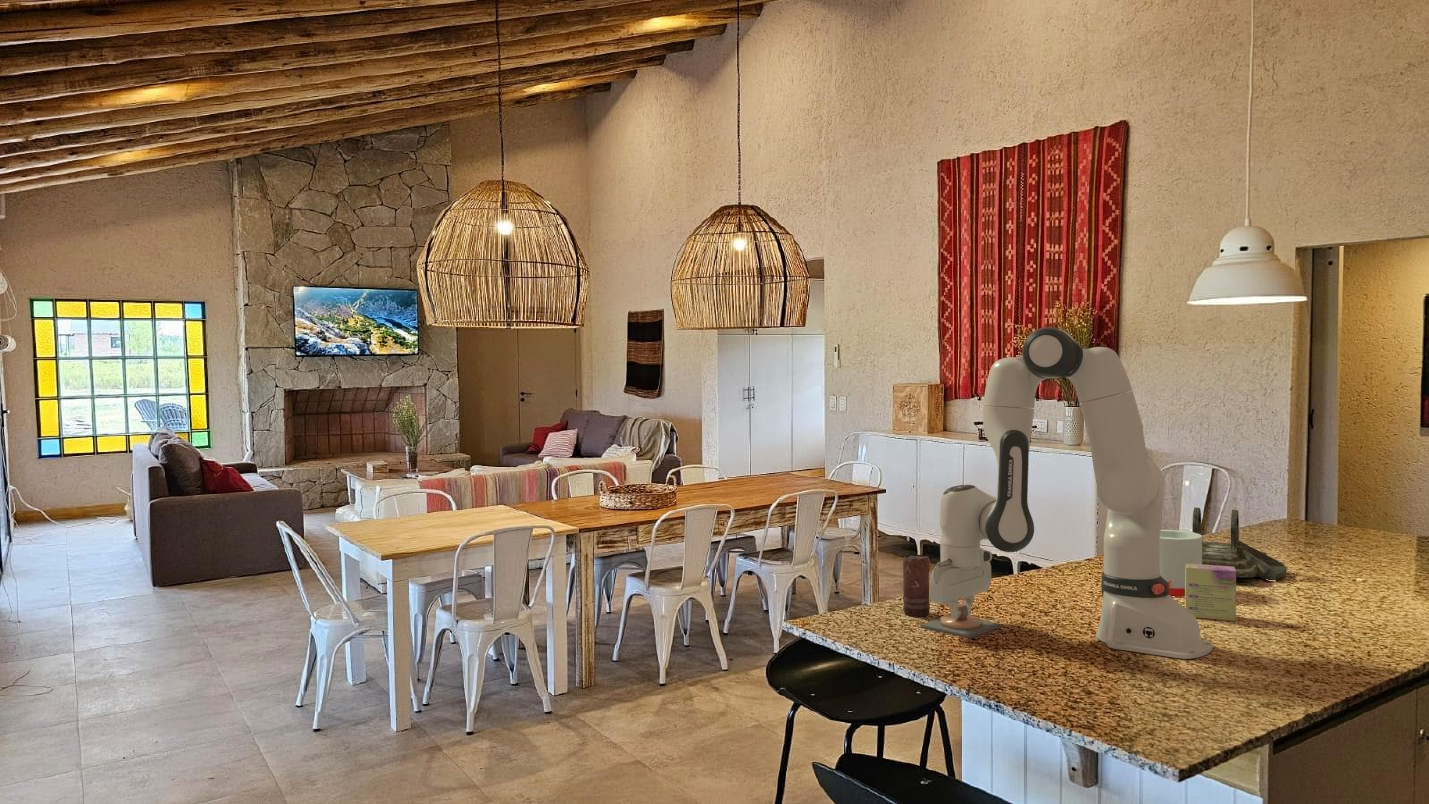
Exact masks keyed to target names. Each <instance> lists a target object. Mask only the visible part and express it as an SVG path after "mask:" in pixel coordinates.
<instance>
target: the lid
mask: <svg viewBox="0 0 1429 804" xmlns="http://www.w3.org/2000/svg"><path fill="white" fill-rule="evenodd" d="M957 606H958V610H960V611H961V617H960V618H959V619H952V618H951V614H946V615H943V616H941V617H940V618H941V625H942V626H944V627H947V628H951V629H958V630H971V629H977V628H980V627H981V620H982V619H981V618H980V617H979V616H978V617H977V616H975V615H971V614H970V615H967V606H966V605H963V604H958V605H957Z"/></svg>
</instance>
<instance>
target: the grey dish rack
mask: <svg viewBox="0 0 1429 804" xmlns="http://www.w3.org/2000/svg"><path fill="white" fill-rule="evenodd" d="M1192 513H1193V514H1192V524H1191V525H1192V527H1191V528H1192V531H1191V532H1194V533H1197V534H1200V535H1202V512H1201V508H1200V507H1193V511H1192ZM1230 515H1231V517H1230V543H1227V542H1215V541H1203V540H1202V565H1217V566H1232V567H1235V570H1236V578H1254V577H1257V578H1260V579H1262V580H1264V579H1268V580H1277V581H1278V579H1282V578H1285V576H1286V574H1287V566H1285V564H1284V563H1283V562H1281V561H1279V560H1277V559H1275V558H1273V557H1271V556H1270V555H1268V553H1267V552H1266V551H1261V550H1258V549H1257V548H1254V547H1252V546H1250V545H1248V544H1246V543H1245V542H1242V541H1241V540H1240V519H1239V517H1240V516H1239V510H1238V509H1232V510H1231V514H1230Z"/></svg>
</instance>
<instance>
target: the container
mask: <svg viewBox="0 0 1429 804" xmlns="http://www.w3.org/2000/svg"><path fill="white" fill-rule="evenodd" d="M1202 541H1203V535H1202V534H1201V535H1200V534H1197V533H1194V532H1192V531H1187V530H1178V529H1161V531H1160V576H1161V577H1162V578H1163V579H1165V580H1166V581H1167V582H1168V581H1170V580H1171V581H1172V582H1171V583H1170V585H1171V586H1169V595H1170V596H1179V597H1178V598H1183V597H1182V596H1185V567H1186V563H1189V564H1202Z"/></svg>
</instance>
